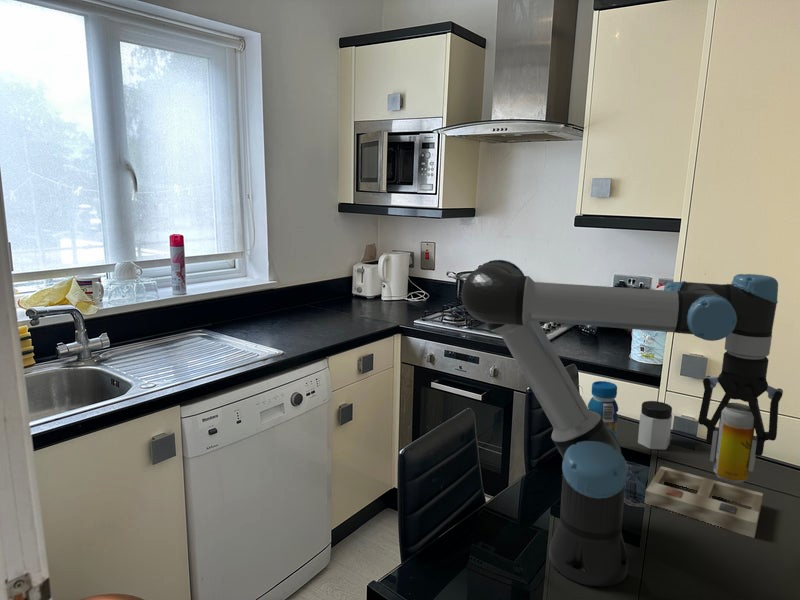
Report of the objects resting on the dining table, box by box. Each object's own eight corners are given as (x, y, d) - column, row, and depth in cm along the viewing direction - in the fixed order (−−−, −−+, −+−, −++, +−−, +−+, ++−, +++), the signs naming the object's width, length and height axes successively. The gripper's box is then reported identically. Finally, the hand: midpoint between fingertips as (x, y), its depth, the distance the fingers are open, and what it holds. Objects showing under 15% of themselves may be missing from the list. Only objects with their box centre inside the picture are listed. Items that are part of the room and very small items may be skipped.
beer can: (752, 486, 111) (762, 414, 108) (718, 482, 112) (727, 411, 110) (740, 471, 117) (749, 403, 114) (708, 468, 118) (717, 400, 115)
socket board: (644, 504, 135) (645, 489, 134) (659, 478, 147) (660, 464, 146) (754, 538, 122) (756, 522, 121) (761, 506, 134) (763, 492, 133)
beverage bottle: (580, 451, 162) (584, 385, 158) (590, 441, 169) (594, 377, 165) (610, 459, 157) (615, 391, 153) (619, 449, 164) (624, 383, 160)
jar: (664, 438, 171) (667, 401, 169) (674, 450, 163) (678, 411, 161) (633, 437, 172) (636, 400, 170) (642, 449, 164) (645, 410, 162)
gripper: (806, 358, 107) (789, 470, 112) (695, 341, 118) (683, 444, 123) (805, 367, 101) (787, 486, 106) (688, 349, 113) (676, 457, 117)
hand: (731, 463), depth 114 cm, fingers closed on beer can, 6 cm apart
